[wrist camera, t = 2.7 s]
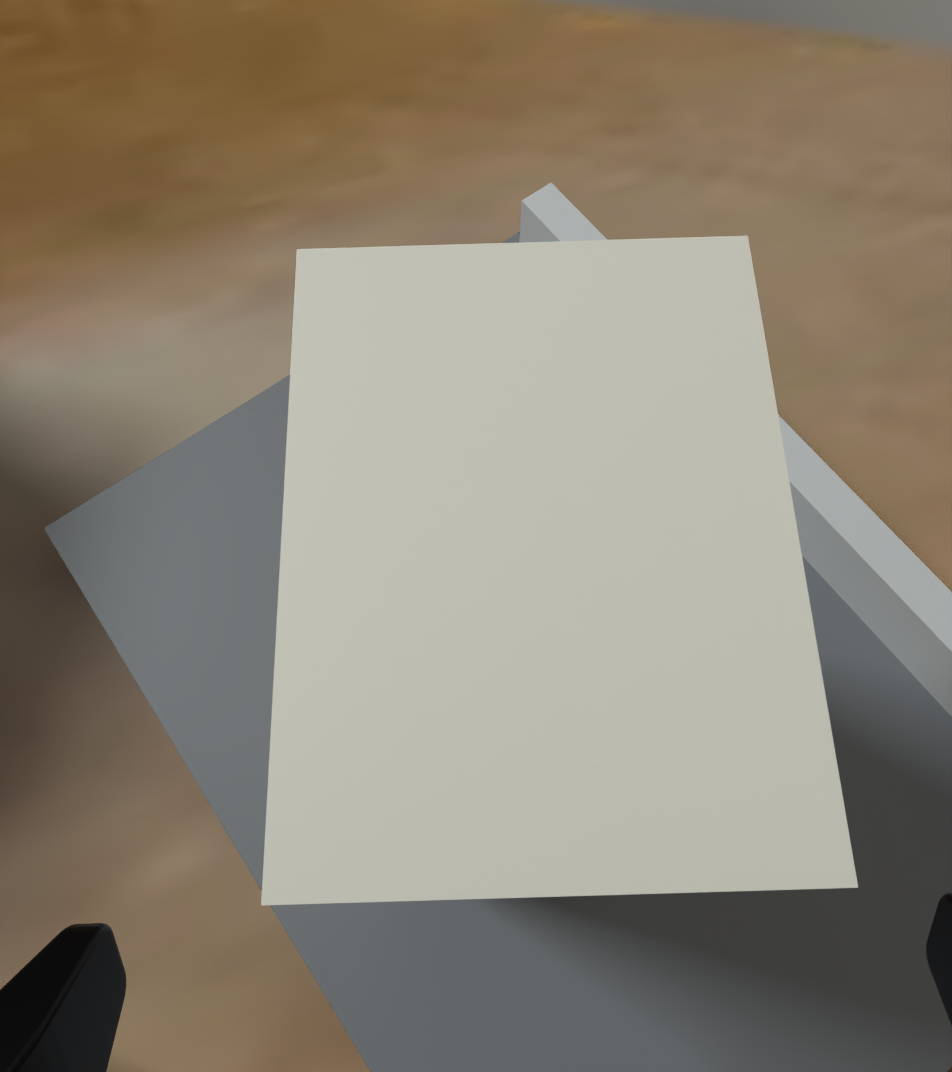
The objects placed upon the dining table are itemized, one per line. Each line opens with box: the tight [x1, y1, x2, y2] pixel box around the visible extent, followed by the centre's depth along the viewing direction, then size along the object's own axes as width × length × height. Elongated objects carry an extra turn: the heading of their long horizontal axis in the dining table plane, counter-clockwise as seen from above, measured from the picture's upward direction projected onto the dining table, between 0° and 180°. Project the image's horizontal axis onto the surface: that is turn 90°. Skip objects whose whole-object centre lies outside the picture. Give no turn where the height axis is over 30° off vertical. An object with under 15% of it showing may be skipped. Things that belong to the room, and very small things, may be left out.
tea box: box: [261, 236, 858, 905], centre depth 13 cm, size 6×5×13 cm
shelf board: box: [44, 183, 952, 1072], centre depth 20 cm, size 22×16×4 cm
